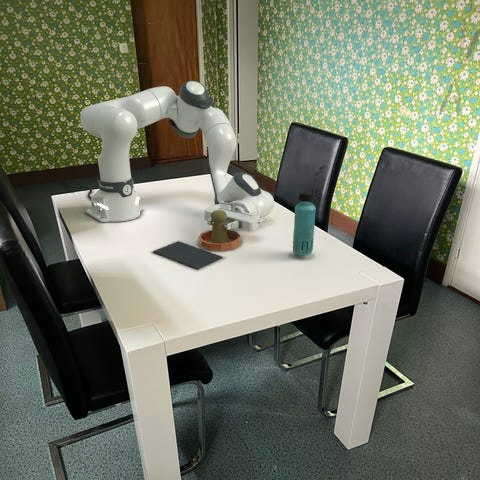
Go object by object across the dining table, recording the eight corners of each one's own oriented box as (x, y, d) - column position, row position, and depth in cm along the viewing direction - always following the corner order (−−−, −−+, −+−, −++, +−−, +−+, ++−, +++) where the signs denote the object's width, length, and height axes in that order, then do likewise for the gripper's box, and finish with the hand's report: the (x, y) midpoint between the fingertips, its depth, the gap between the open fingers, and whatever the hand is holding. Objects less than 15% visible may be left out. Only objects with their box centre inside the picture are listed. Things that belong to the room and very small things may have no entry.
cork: (231, 240, 157) (230, 209, 151) (224, 247, 152) (224, 214, 146) (214, 238, 158) (213, 207, 153) (207, 245, 154) (206, 213, 148)
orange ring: (190, 244, 155) (190, 237, 153) (218, 232, 163) (218, 226, 162) (220, 254, 147) (220, 247, 146) (248, 242, 156) (248, 235, 154)
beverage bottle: (299, 261, 142) (303, 196, 132) (287, 253, 147) (290, 191, 137) (316, 257, 145) (322, 193, 134) (304, 250, 150) (309, 188, 139)
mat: (153, 252, 149) (153, 251, 148) (178, 242, 156) (178, 241, 155) (197, 269, 138) (197, 268, 137) (222, 258, 145) (222, 256, 144)
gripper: (267, 228, 157) (243, 241, 147) (219, 216, 167) (194, 227, 158) (267, 210, 154) (243, 222, 144) (219, 199, 164) (193, 209, 155)
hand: (217, 224), depth 151 cm, fingers open, 6 cm apart
